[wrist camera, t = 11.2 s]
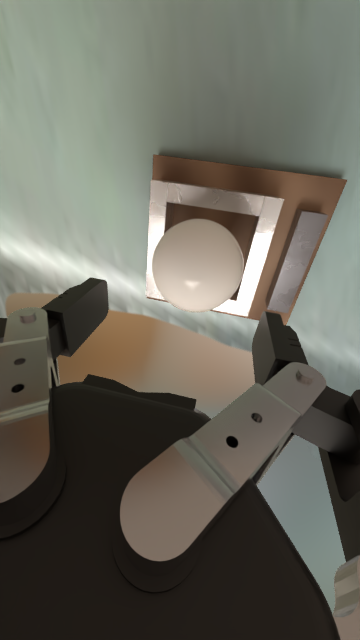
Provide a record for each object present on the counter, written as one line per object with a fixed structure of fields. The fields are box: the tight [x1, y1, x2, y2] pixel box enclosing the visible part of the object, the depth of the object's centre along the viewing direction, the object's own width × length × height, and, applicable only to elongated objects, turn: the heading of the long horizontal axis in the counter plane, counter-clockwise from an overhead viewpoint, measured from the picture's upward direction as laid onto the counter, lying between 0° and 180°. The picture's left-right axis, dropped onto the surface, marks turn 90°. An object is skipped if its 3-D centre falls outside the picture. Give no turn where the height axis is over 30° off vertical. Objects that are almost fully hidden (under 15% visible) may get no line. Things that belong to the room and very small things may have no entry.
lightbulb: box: [152, 219, 243, 312], centre depth 19 cm, size 6×6×11 cm
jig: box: [146, 155, 347, 325], centre depth 23 cm, size 16×14×4 cm
